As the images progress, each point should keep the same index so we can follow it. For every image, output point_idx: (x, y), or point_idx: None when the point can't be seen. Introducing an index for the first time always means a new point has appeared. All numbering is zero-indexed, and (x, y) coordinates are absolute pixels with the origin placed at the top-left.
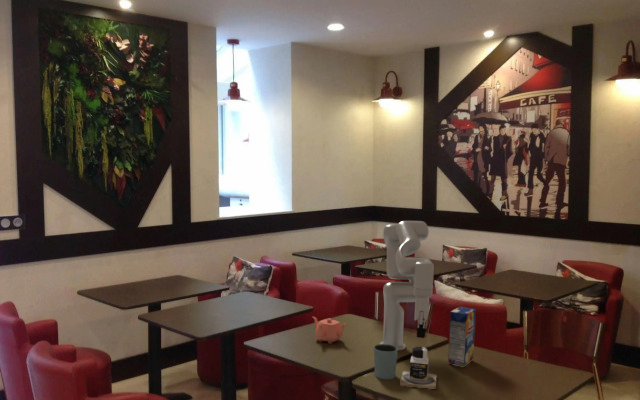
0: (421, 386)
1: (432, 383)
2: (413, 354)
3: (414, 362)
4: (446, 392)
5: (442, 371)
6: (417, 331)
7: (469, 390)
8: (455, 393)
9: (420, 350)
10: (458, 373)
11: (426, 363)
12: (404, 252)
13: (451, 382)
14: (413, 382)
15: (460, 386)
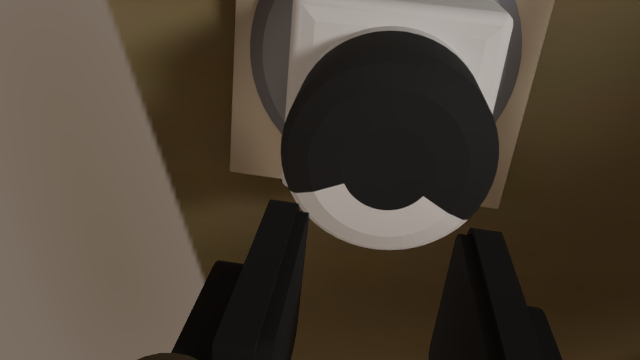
0: (235, 66)
1: None
2: (341, 49)
3: (291, 43)
4: (218, 227)
5: (633, 255)
6: (240, 280)
7: None
8: None
9: (301, 163)
10: (591, 349)
11: (282, 173)
12: None
13: (407, 282)
14: (266, 3)
15: (345, 322)
